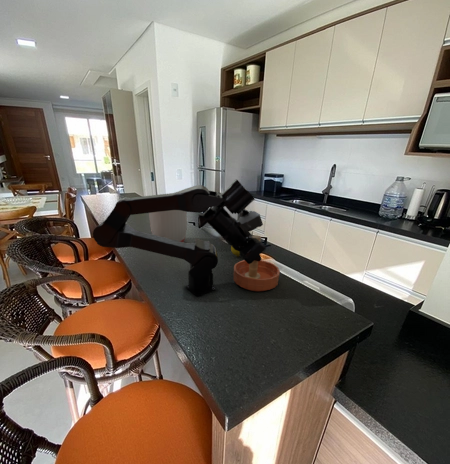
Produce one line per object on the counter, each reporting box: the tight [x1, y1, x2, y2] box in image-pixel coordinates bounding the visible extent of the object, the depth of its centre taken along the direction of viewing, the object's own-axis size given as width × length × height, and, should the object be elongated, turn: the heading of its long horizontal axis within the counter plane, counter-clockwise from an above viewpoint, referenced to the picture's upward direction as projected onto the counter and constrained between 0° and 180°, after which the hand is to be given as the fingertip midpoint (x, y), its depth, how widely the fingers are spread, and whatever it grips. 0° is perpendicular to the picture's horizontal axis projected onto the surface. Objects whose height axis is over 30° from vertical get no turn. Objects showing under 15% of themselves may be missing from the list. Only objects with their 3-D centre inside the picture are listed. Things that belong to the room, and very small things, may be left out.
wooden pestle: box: [245, 234, 262, 279], centre depth 74 cm, size 5×5×14 cm
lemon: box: [230, 245, 241, 258], centre depth 95 cm, size 6×6×8 cm
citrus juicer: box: [148, 210, 188, 243], centre depth 104 cm, size 16×17×20 cm
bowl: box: [232, 259, 281, 292], centre depth 78 cm, size 14×14×4 cm
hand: (258, 258), depth 75 cm, fingers closed on wooden pestle, 2 cm apart
